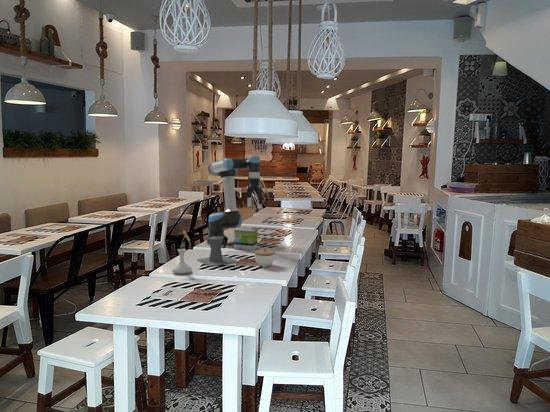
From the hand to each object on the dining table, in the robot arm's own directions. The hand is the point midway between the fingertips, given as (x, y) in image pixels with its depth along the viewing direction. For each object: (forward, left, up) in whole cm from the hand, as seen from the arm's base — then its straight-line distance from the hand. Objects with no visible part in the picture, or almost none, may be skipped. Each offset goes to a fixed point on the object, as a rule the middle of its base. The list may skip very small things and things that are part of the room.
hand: (254, 207), depth 309 cm
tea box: (-10, -1, -32) cm, 34 cm away
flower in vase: (+24, -65, -32) cm, 76 cm away
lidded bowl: (+38, -16, -32) cm, 52 cm away
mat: (+12, -36, -32) cm, 49 cm away
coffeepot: (+12, -36, -31) cm, 49 cm away
